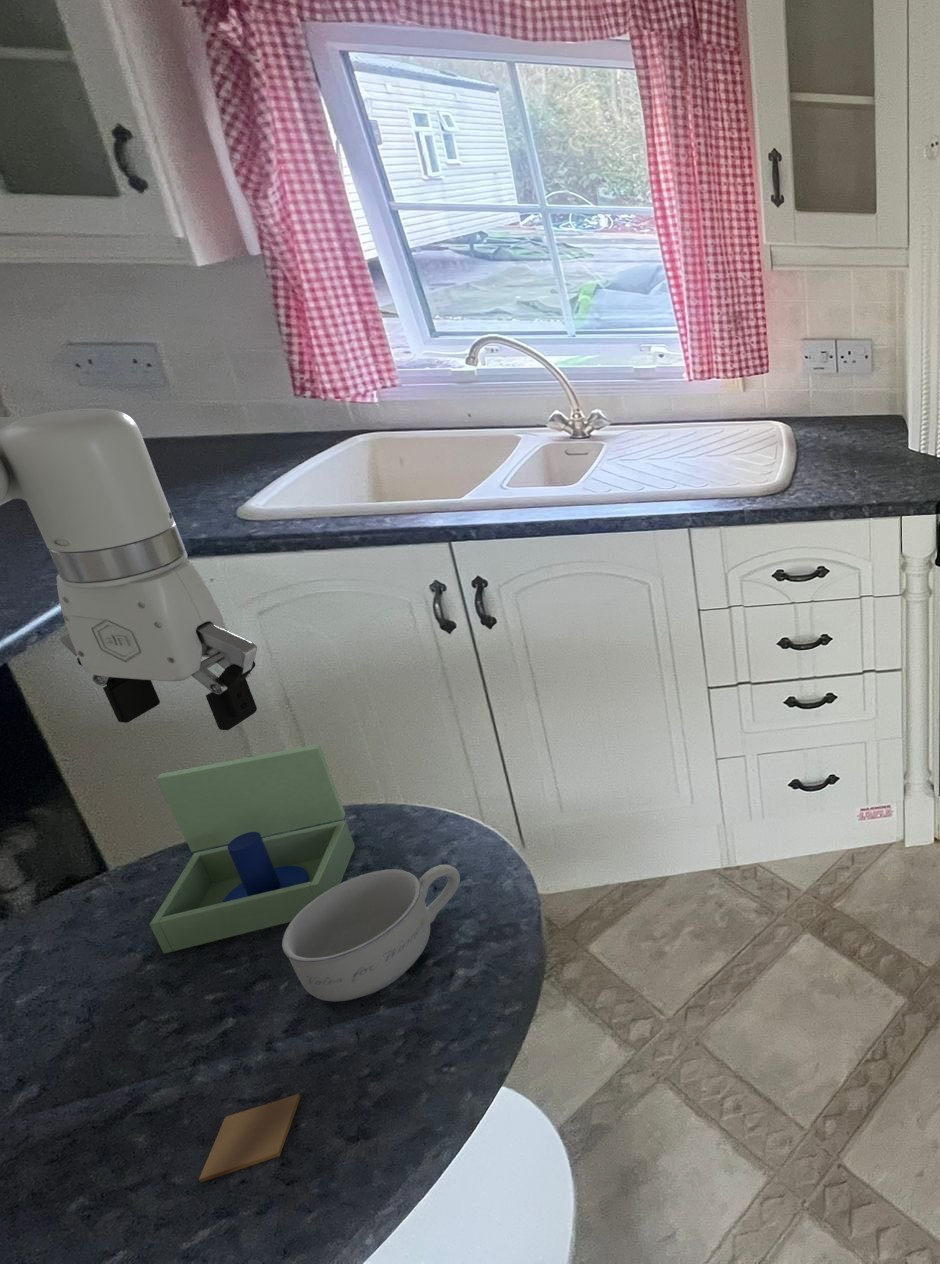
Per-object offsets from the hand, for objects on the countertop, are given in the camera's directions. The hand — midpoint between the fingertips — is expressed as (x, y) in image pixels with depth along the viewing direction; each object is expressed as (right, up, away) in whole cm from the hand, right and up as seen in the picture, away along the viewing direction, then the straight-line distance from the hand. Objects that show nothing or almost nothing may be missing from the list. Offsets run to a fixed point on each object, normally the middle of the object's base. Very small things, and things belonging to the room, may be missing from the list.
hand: (189, 717), depth 77 cm
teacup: (+14, -27, +7) cm, 31 cm away
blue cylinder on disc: (-4, -23, +12) cm, 26 cm away
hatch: (-6, -12, +12) cm, 19 cm away
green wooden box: (-4, -24, +13) cm, 27 cm away
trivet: (+14, -33, -9) cm, 37 cm away
